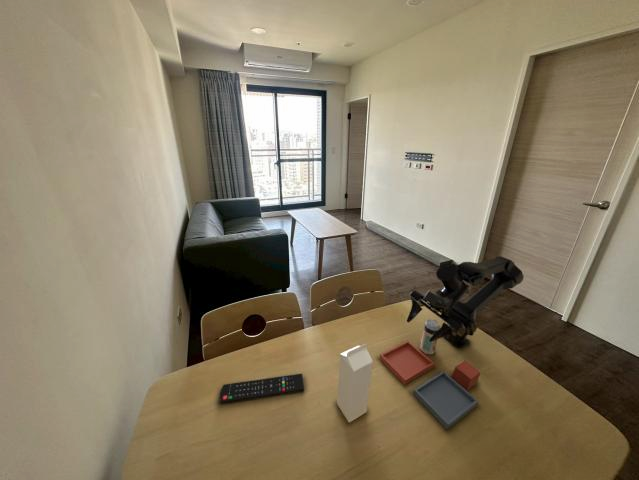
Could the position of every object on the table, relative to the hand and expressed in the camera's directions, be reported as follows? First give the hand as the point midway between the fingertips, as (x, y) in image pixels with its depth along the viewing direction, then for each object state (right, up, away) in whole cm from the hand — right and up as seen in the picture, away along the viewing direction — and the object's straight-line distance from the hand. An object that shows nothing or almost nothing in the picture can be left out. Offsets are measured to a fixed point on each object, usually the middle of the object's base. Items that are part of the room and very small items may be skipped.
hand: (418, 331), depth 81 cm
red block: (+13, -15, -3) cm, 20 cm away
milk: (-23, -18, -11) cm, 31 cm away
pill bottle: (+7, -10, +9) cm, 15 cm away
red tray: (-3, -12, +3) cm, 13 cm away
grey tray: (+4, -17, -8) cm, 19 cm away
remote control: (-49, -15, -6) cm, 51 cm away
